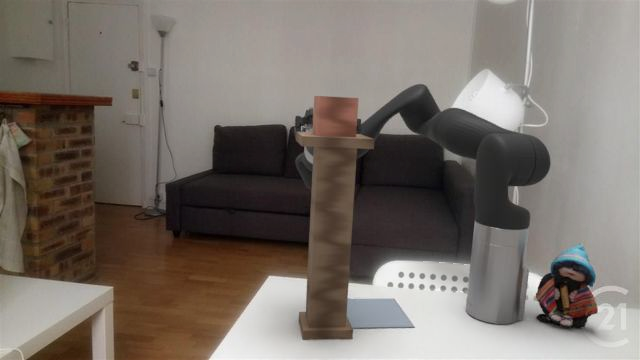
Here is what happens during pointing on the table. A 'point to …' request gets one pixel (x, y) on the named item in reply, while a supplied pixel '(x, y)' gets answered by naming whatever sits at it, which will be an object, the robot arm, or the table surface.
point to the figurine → (568, 290)
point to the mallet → (335, 116)
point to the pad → (376, 314)
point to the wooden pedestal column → (330, 234)
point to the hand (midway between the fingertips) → (332, 112)
